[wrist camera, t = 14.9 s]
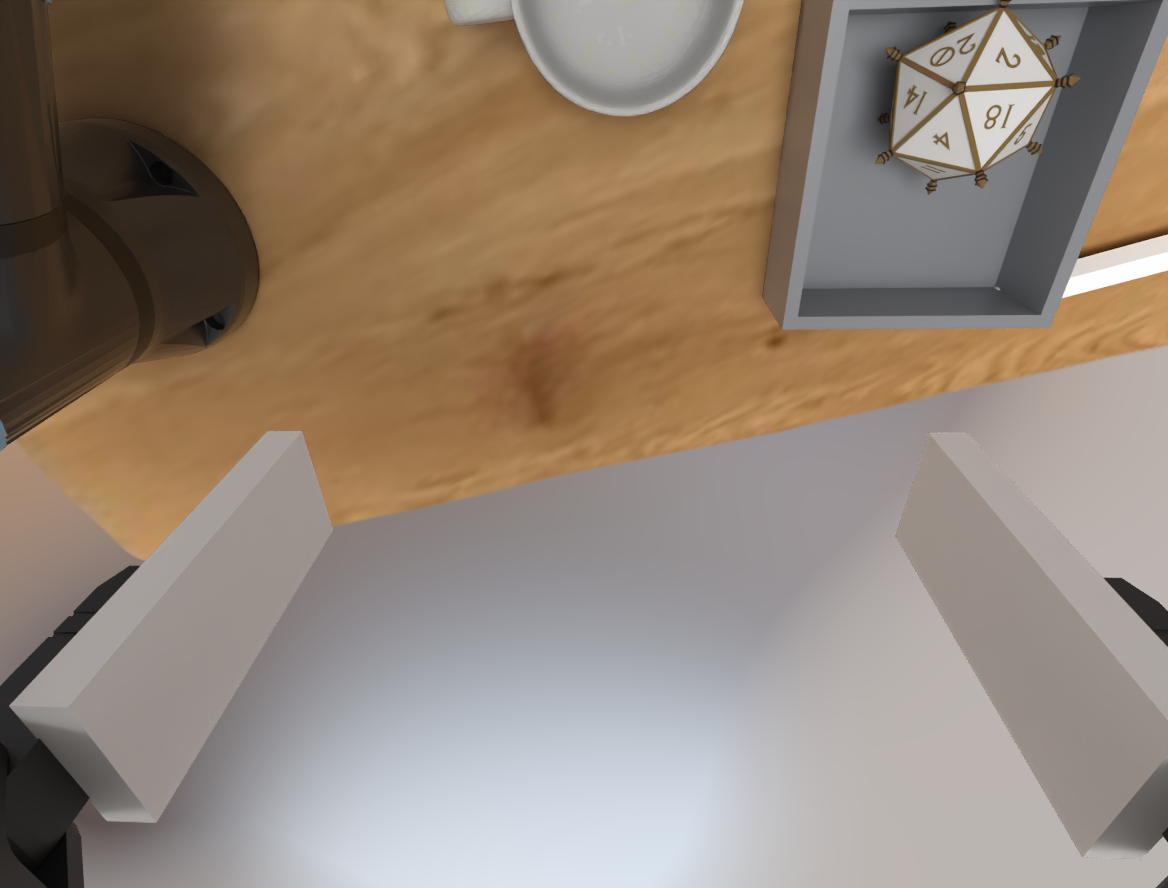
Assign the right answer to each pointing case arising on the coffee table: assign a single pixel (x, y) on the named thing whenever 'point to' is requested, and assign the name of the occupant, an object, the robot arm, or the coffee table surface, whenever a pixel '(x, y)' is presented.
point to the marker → (1118, 266)
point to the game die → (970, 97)
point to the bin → (957, 208)
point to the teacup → (615, 45)
